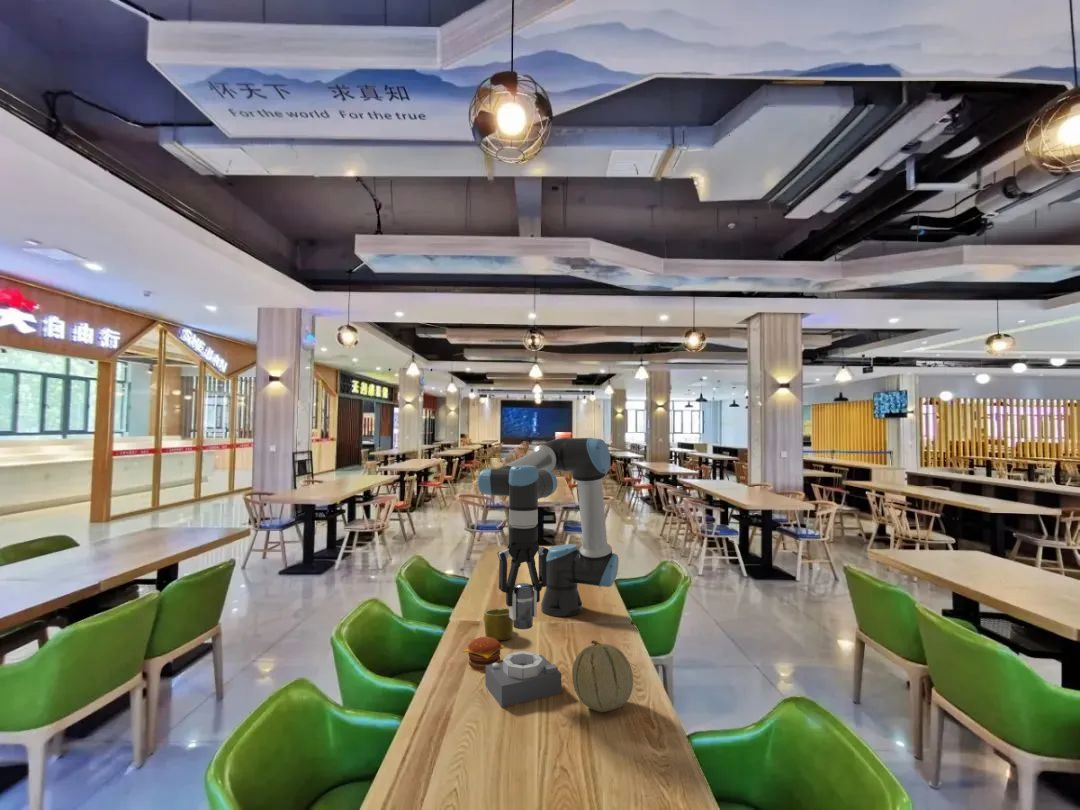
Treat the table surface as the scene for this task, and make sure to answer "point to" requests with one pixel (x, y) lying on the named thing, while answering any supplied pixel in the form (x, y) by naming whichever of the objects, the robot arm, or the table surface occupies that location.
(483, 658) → the hamburger
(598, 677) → the cantaloupe
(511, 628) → the mug
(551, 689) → the camera body
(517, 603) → the lens
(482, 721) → the table surface
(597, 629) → the table surface
